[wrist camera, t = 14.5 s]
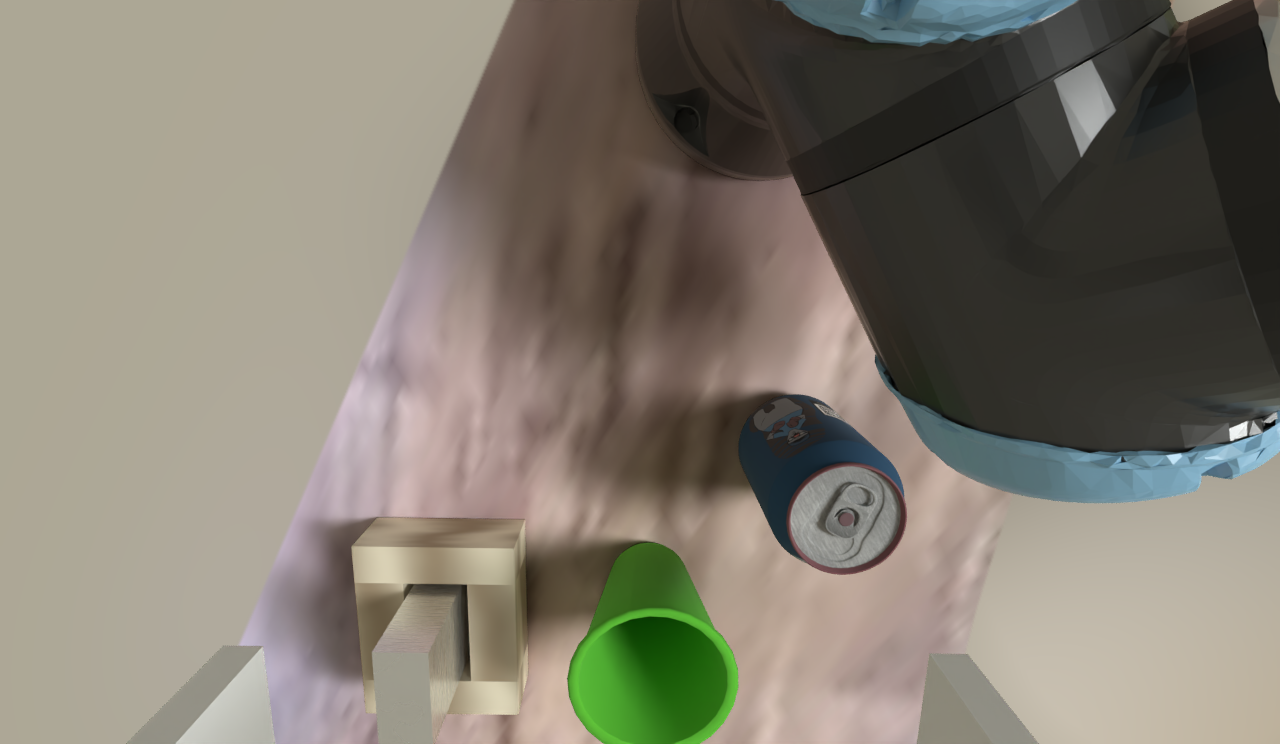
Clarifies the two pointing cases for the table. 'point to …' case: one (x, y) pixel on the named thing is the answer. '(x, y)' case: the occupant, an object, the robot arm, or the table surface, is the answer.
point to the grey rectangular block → (420, 663)
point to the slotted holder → (451, 556)
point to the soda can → (822, 485)
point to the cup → (652, 657)
